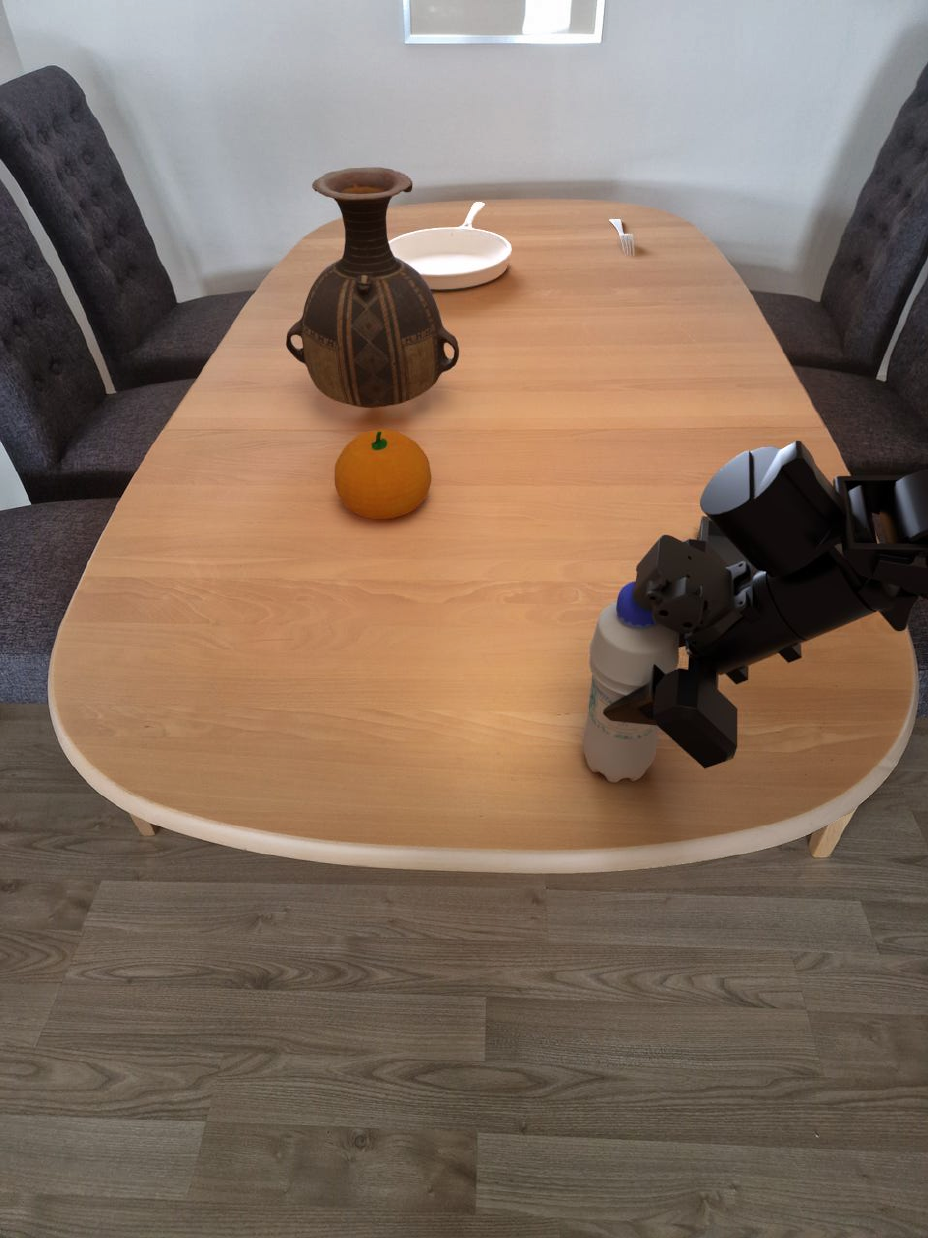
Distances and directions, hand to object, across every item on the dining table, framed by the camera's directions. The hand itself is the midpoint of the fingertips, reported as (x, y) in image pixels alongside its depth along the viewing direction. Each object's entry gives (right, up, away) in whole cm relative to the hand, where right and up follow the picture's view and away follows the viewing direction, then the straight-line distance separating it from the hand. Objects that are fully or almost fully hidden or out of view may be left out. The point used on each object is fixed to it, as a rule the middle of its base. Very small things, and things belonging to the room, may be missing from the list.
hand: (611, 684), depth 64 cm
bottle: (+2, -7, +6) cm, 10 cm away
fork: (+20, +83, +100) cm, 132 cm away
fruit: (-21, +20, +36) cm, 46 cm away
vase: (-24, +36, +53) cm, 69 cm away
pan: (-13, +77, +95) cm, 123 cm away
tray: (+20, +10, +23) cm, 32 cm away
